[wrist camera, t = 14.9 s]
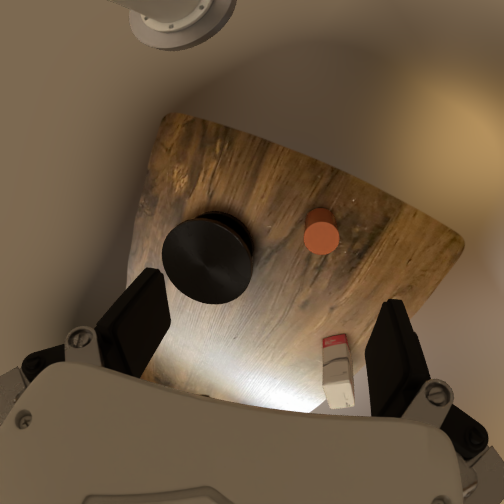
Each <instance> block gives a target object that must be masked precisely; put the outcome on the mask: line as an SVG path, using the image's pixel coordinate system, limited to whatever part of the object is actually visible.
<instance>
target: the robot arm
mask: <svg viewBox="0 0 504 504" xmlns="http://www.w3.org/2000/svg"><path fill="white" fill-rule="evenodd" d="M108 1H111V2H113V3H116V4H119V5H121V6H123V7H126V8H128V9H131V10H133V11H135V12H138V13H140V14H141V18H142V20H143V22H144V23H145V24H146V25H147V26H148V27H149V28H151V29H153V30H155V31H158V32H166V33H169V32H176V31H179V30H183V29H185V28H187V27H189V26H191V25H193V24H194V23H196V22H197V21H198V20H199V19H201V18H202V17H203V16H204V15H205V13H206V12H207V11H208V9H209V8H210V6H211V4H212V2H213V0H108ZM203 8H204V9H203ZM170 324H171V318H170V312H169V306H168V300H167V294H166V287H165V281H164V275H163V273H161V272H160V270H159V269H154V268H145V269H144V270H143V271H142V273H141V274H140V275H139V276H138V277H137V278H136V279H135V280H134V281H133V282H132V284H131V285H130V286H129V287H128V288H127V289H126V290H125V291H124V292H123V294H122V295H121V296H120V297H119V298H118V299H117V300H116V302H115V303H114V304H113V305H112V306H111V307H110V308H109V310H108V311H107V312H106V313H105V314H104V316H103V317H102V318H101V319H100V320H99V321H98V323H97V326H96V327H95V328H94V329H93V328H91V327H89V326H80V327H77V328H74V329H73V330H71V331H70V332H69V333H68V334H67V336H66V338H65V344H62V345H59V346H55V347H52V348H48V349H45V350H41V351H38V352H34V353H31V354H30V355H28V356H27V357H26V358H25V359H24V360H23V363H22V367H21V368H20V369H19V368H18V367H16V368H14V369H12V370H11V371H9V372H7V373H6V374H3V375H2V376H0V504H500V503H501V502H502V500H503V499H504V461H503V460H502V458H501V457H500V456H499V454H498V453H497V451H496V450H495V449H494V447H493V446H491V447H490V448H489V446H488V445H487V444H488V433H487V431H486V429H485V428H484V427H483V426H482V425H481V424H480V423H478V422H477V421H476V420H474V419H473V418H472V417H470V416H469V415H467V414H466V413H465V412H463V411H462V410H460V409H459V408H458V407H456V406H455V405H453V404H452V403H453V400H454V394H453V391H452V389H451V388H450V386H449V385H448V384H447V383H445V382H444V381H442V380H439V379H431V378H430V374H429V371H428V368H427V364H426V361H425V358H424V355H423V351H422V348H421V345H420V342H419V339H418V336H417V334H416V333H415V332H414V331H413V329H412V326H411V323H410V320H409V317H408V314H407V312H406V309H405V306H404V304H403V301H402V300H397V299H388V301H387V302H384V303H383V304H382V307H381V310H380V313H379V315H378V318H377V321H376V323H375V326H374V328H373V331H372V334H371V336H370V339H369V341H368V343H367V346H366V349H365V360H366V368H367V376H368V384H369V394H370V405H371V417H365V416H342V415H326V414H314V413H303V412H294V411H285V410H278V409H270V408H264V407H257V406H251V405H245V404H240V403H234V402H229V401H224V400H219V399H214V398H210V397H205V396H201V395H197V394H193V393H189V392H185V391H181V390H177V389H173V388H170V387H166V386H163V385H159V384H156V383H152V382H149V381H146V380H142V379H140V377H141V375H142V373H143V372H144V370H145V368H146V367H147V365H148V363H149V361H150V360H151V358H152V356H153V354H154V353H155V351H156V349H157V348H158V346H159V344H160V343H161V341H162V339H163V337H164V336H165V334H166V332H167V331H168V329H169V327H170Z"/></svg>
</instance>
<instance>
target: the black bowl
mask: <svg viewBox="0 0 504 504" xmlns="http://www.w3.org/2000/svg"><path fill="white" fill-rule="evenodd" d="M253 252H254V245H253V240H252V237H251V234H250V232H249V231H248V229H247V228H246V226H245V225H244V224H243V223H242V222H241V221H240V220H238V219H237V218H236V217H234V216H232V215H230V214H228V213H224V212H220V211H210V212H205V213H202V214H200V215H198V216H197V217H195V218H194V219H190V220H186V221H184V222H182V223H180V224H179V225H177V226H176V227H175V228H174V229H173V230H171V232H170V233H169V234H168V235H167V237H166V239H165V241H164V244H163V248H162V261H163V266H164V269H165V271H166V274H167V276H168V277H169V279H170V280H171V282H172V283H173V284H174V285H175V287H176V288H177V289H178V290H180V291H181V292H182V293H183V294H185V295H186V296H188V297H190V298H191V299H194V300H196V301H199V302H202V303H206V304H223V303H228V302H230V301H233V300H234V299H236V298H238V297H239V296H240V295H241V294H242V293H243V292H244V291H245V290H246V288H247V287H248V284H249V282H250V280H251V276H252V270H253V263H252V257H253Z"/></svg>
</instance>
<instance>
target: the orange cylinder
mask: <svg viewBox="0 0 504 504" xmlns="http://www.w3.org/2000/svg"><path fill="white" fill-rule="evenodd" d="M304 243H305V245H306V247H307V249H308V250H310V251H311V252H312V253H314V254H318V255H325V254H329V253H331V252H332V251H334V250H335V249H336V247H337V246H338V243H339V232H338V227H337V223H336V219H335V216H334V215H333V213H332V212H331V211H329V210H327V209H325V208H316V209H314V210H312V211H310V212H309V213H308V215H307V216H306V219H305V227H304Z"/></svg>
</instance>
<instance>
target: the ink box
mask: <svg viewBox="0 0 504 504" xmlns="http://www.w3.org/2000/svg"><path fill="white" fill-rule="evenodd" d="M322 386H323V389H324V392H325V395H326V398H327V401H328V404H329V407H330V409H338V408H345V407H352V406H354V405H355V400H354V380H353V365H352V358H351V354H350V350H349V346H348V342H347V338H346V335H345V334H342V335H336V336H332V337H328V338H325V339H323V384H322Z"/></svg>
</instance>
